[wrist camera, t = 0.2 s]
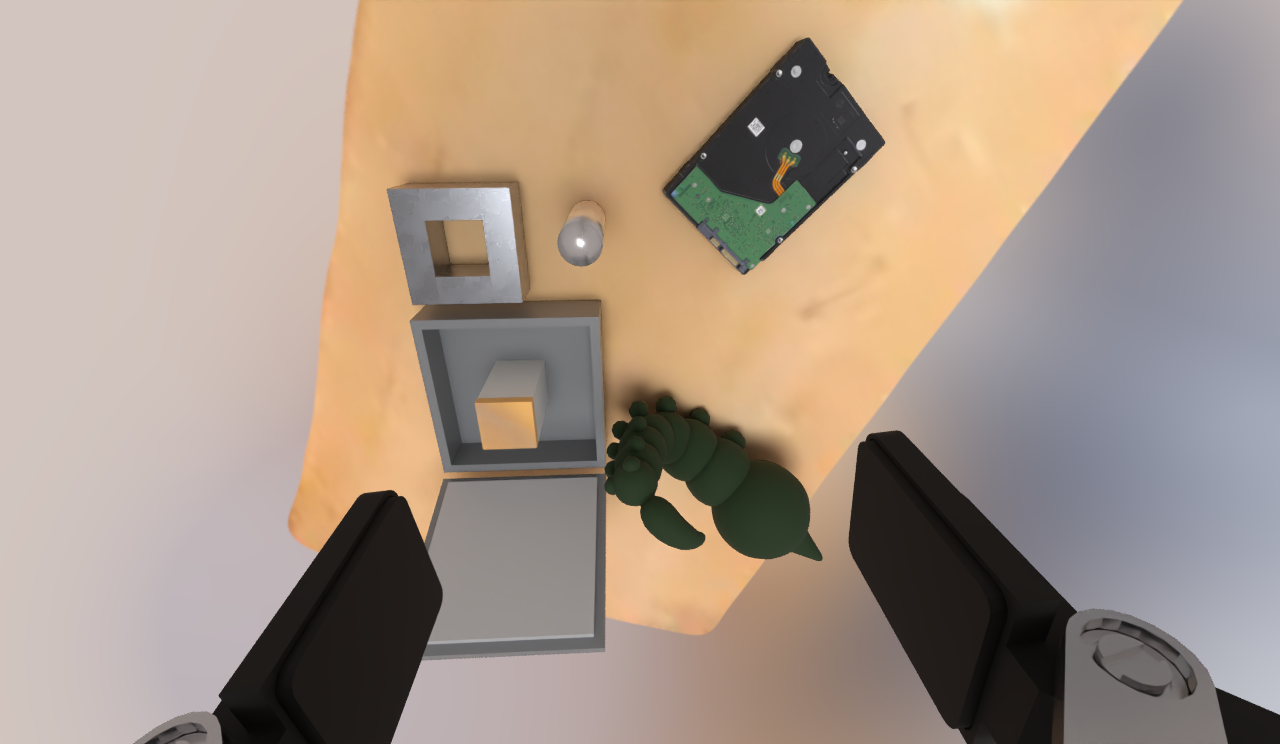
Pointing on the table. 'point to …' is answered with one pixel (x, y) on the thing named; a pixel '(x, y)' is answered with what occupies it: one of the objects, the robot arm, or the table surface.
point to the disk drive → (775, 159)
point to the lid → (519, 566)
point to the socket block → (427, 248)
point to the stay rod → (582, 234)
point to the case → (485, 333)
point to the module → (512, 405)
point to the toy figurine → (707, 484)
